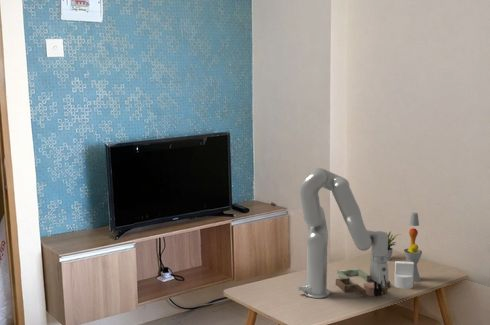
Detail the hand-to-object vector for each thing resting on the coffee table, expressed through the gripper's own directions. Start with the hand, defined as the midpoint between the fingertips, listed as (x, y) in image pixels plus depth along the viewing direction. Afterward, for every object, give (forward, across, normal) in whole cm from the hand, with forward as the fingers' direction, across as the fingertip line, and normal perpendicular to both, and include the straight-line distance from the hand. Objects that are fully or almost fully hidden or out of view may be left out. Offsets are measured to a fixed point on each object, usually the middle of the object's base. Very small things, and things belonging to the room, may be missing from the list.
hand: (377, 295), depth 271 cm
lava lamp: (+1, +18, -29) cm, 34 cm away
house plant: (+1, +51, -34) cm, 61 cm away
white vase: (+1, +11, -20) cm, 23 cm away
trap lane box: (+1, +17, 0) cm, 17 cm away
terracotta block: (+1, +6, 0) cm, 6 cm away
